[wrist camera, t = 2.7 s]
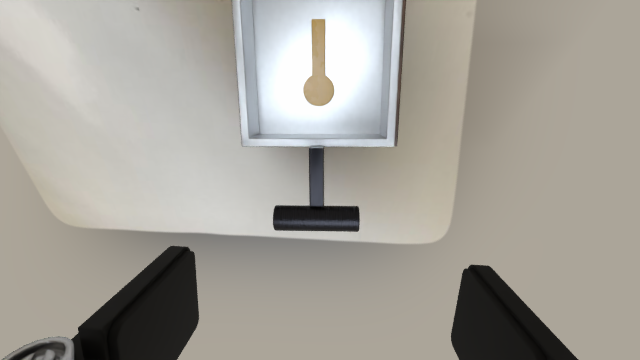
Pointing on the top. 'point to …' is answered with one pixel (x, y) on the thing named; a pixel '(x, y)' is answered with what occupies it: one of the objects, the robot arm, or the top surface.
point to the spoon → (318, 69)
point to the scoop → (291, 74)
